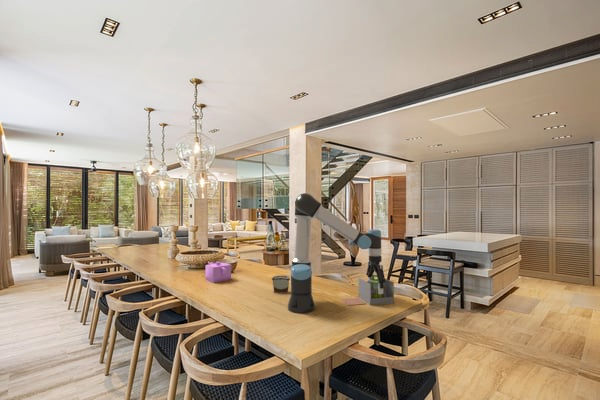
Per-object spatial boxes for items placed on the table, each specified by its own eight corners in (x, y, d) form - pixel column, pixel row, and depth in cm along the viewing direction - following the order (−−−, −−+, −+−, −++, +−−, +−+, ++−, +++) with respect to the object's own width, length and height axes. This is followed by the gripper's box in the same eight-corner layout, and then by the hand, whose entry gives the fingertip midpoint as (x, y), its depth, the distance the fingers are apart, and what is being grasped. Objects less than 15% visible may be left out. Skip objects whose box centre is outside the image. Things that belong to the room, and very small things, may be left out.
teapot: (218, 275, 250) (218, 258, 250) (234, 280, 231) (234, 262, 231) (201, 278, 239) (201, 260, 240) (216, 284, 221) (216, 265, 221)
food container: (291, 290, 203) (291, 275, 203) (290, 292, 197) (290, 277, 197) (273, 289, 204) (273, 275, 204) (271, 292, 198) (271, 277, 198)
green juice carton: (366, 301, 178) (365, 276, 179) (370, 296, 187) (369, 273, 187) (381, 303, 174) (381, 277, 174) (385, 298, 182) (384, 274, 183)
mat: (348, 305, 170) (348, 305, 170) (341, 299, 181) (341, 299, 181) (366, 304, 173) (366, 303, 173) (358, 298, 184) (358, 297, 184)
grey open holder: (370, 305, 171) (370, 284, 171) (358, 297, 186) (358, 277, 187) (394, 303, 174) (393, 282, 175) (380, 295, 190) (380, 276, 190)
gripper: (391, 258, 170) (391, 296, 170) (371, 251, 194) (371, 285, 193) (379, 258, 168) (379, 297, 168) (360, 252, 192) (361, 285, 192)
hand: (375, 290), depth 181 cm, fingers closed on green juice carton, 12 cm apart
